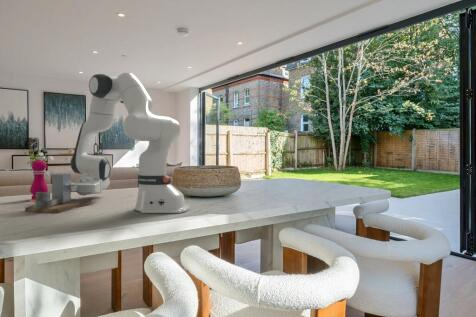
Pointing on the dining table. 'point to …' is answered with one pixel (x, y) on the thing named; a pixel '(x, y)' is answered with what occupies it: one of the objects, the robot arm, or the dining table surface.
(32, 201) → the wood and grey stick
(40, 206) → the gauge bench
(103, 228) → the dining table surface
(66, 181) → the brushed steel block
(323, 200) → the dining table surface
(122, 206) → the dining table surface
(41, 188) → the pepper mill
